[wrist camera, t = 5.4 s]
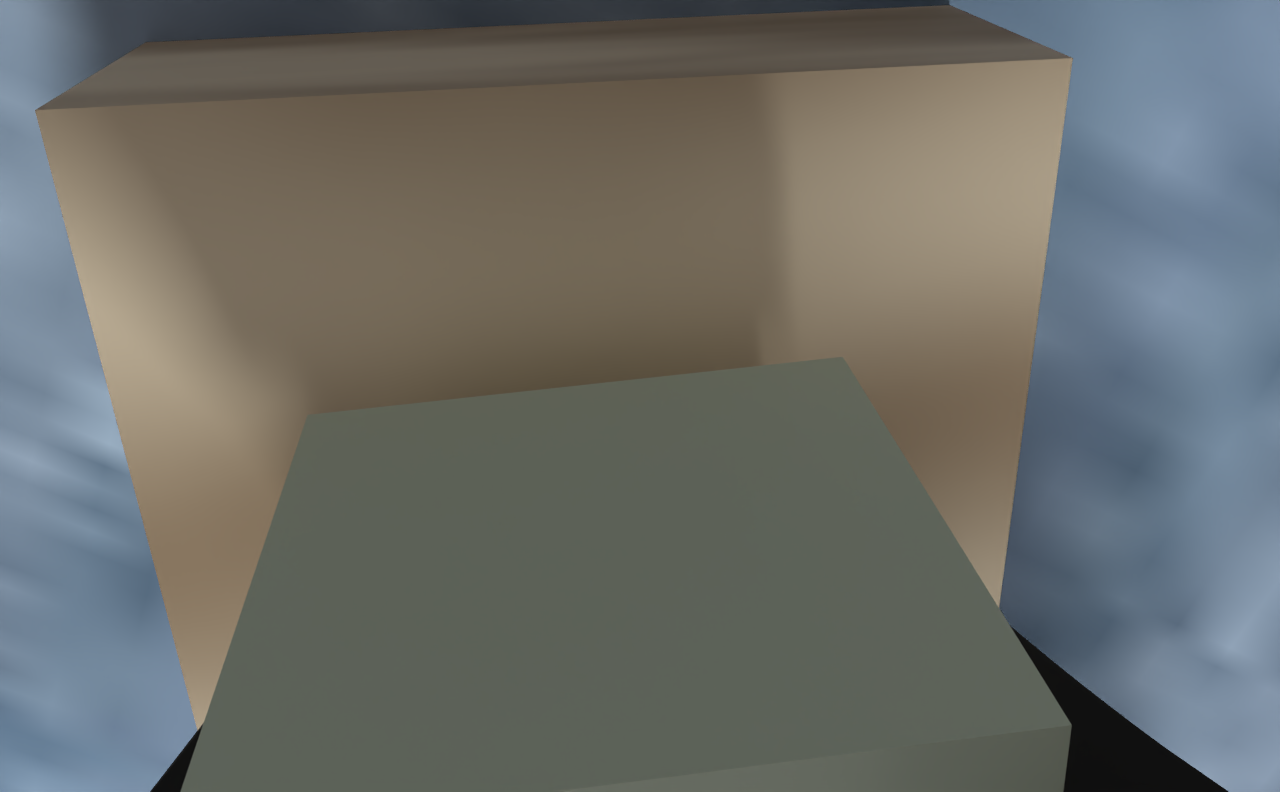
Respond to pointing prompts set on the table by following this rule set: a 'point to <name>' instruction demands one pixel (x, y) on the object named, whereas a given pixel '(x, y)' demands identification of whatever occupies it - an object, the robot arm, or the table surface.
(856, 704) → the sage cube
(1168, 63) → the table surface
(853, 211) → the base block
